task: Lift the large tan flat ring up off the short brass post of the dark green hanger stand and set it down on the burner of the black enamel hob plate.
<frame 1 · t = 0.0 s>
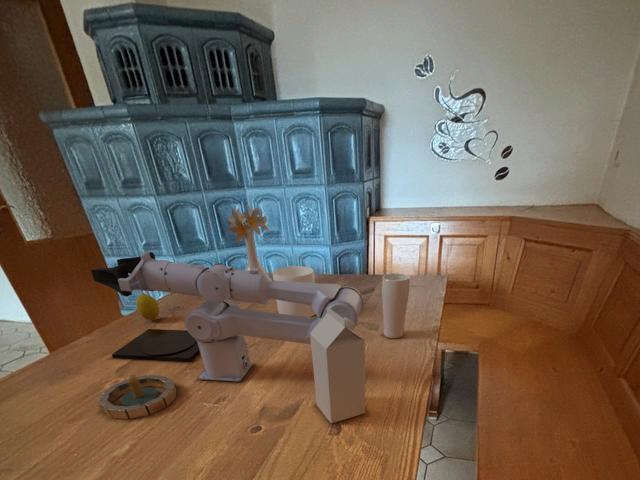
hand: (107, 269, 76), 22 cm above the table, tool horizontal, fingers open, 7 cm apart
hanger stand: (141, 399, 78), on the table
milk carton: (340, 410, 74), on the table
drinking glass: (393, 335, 103), on the table
tan flat ring: (141, 399, 78), on the table
hob plate: (168, 346, 98), on the table
lemon: (152, 321, 113), on the table
cup: (297, 313, 117), on the table
flower vase: (258, 287, 138), on the table
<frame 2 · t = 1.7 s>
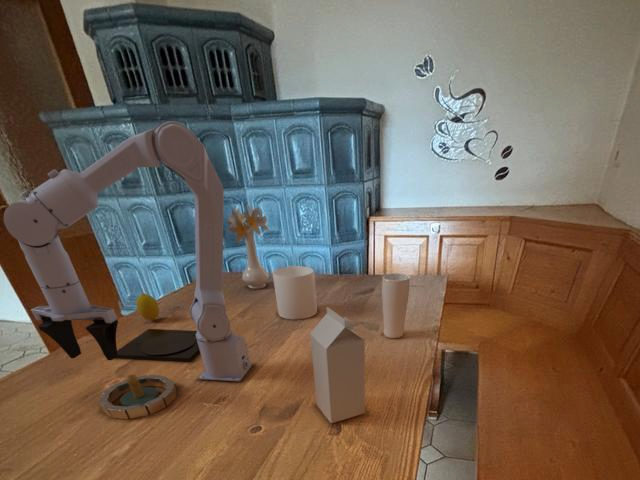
hand: (94, 356, 73), 9 cm above the table, tool pointing down, fingers open, 7 cm apart
nothing on the table moved.
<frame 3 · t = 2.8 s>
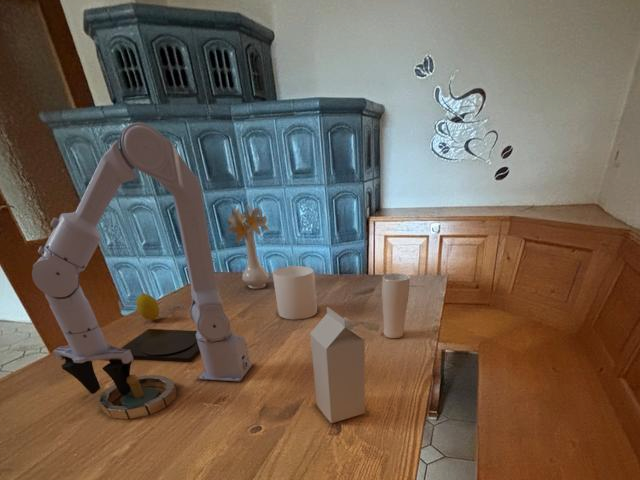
hand: (111, 392, 78), 1 cm above the table, tool pointing down, fingers open, 6 cm apart
nothing on the table moved.
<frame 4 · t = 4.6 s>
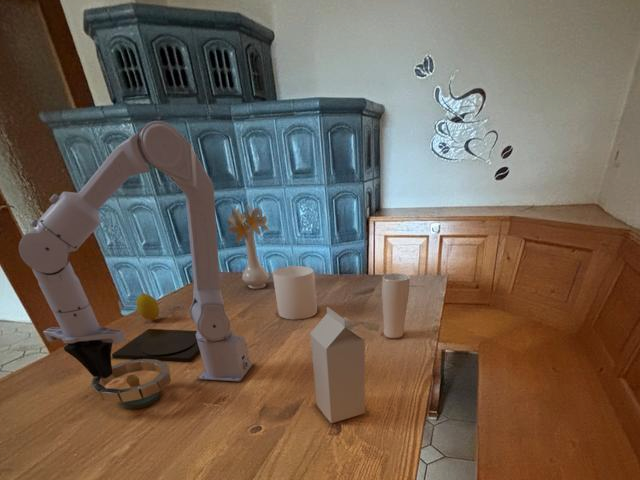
hand: (103, 375, 75), 5 cm above the table, tool pointing down, fingers closed on tan flat ring
tan flat ring: (134, 383, 76), point 4 cm above the table, touching gripper
everything else where it was.
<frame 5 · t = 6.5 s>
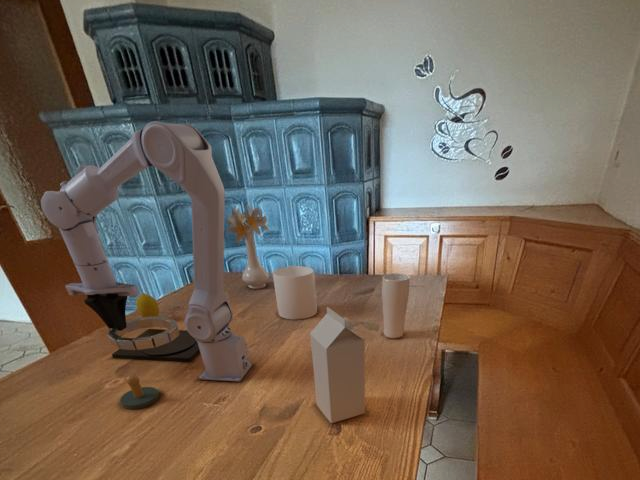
hand: (118, 328, 83), 9 cm above the table, tool pointing down, fingers closed on tan flat ring
tan flat ring: (146, 336, 84), point 8 cm above the table, touching gripper
everything else where it was.
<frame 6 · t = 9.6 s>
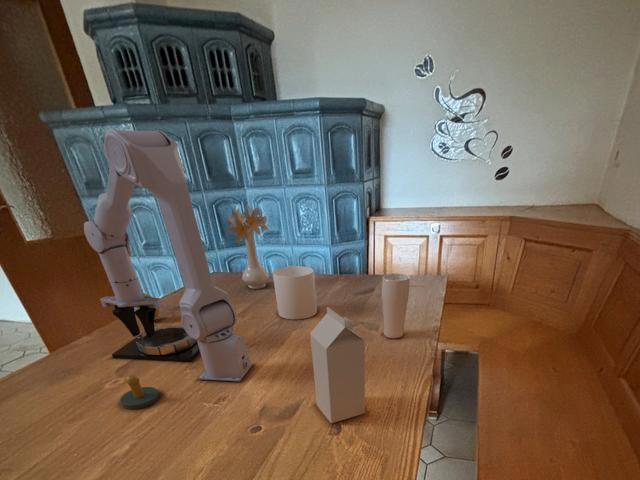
hand: (144, 335, 96), 3 cm above the table, tool pointing down, fingers open, 3 cm apart
tan flat ring: (168, 343, 97), point 1 cm above the table, touching hob plate
everything else where it was.
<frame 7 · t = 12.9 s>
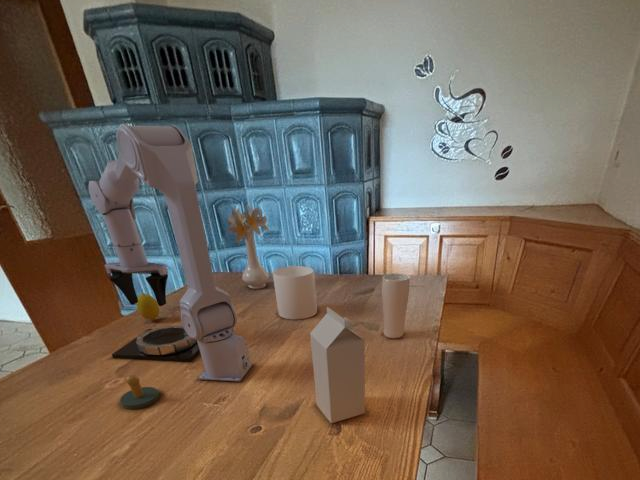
hand: (148, 304, 95), 10 cm above the table, tool pointing down, fingers open, 7 cm apart
nothing on the table moved.
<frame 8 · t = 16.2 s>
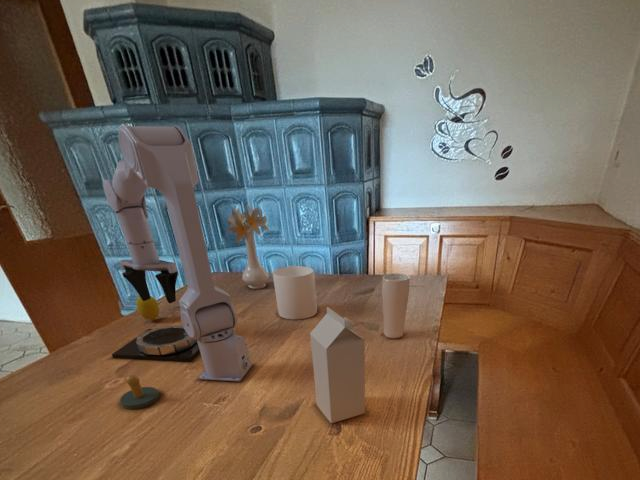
hand: (159, 300, 97), 10 cm above the table, tool pointing down, fingers open, 7 cm apart
nothing on the table moved.
at the end: tan flat ring inside the target area on the hob plate (0.3 cm from its centre), point 1.3 cm above the hob plate's base; tan flat ring touching hob plate; the gripper is holding nothing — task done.
